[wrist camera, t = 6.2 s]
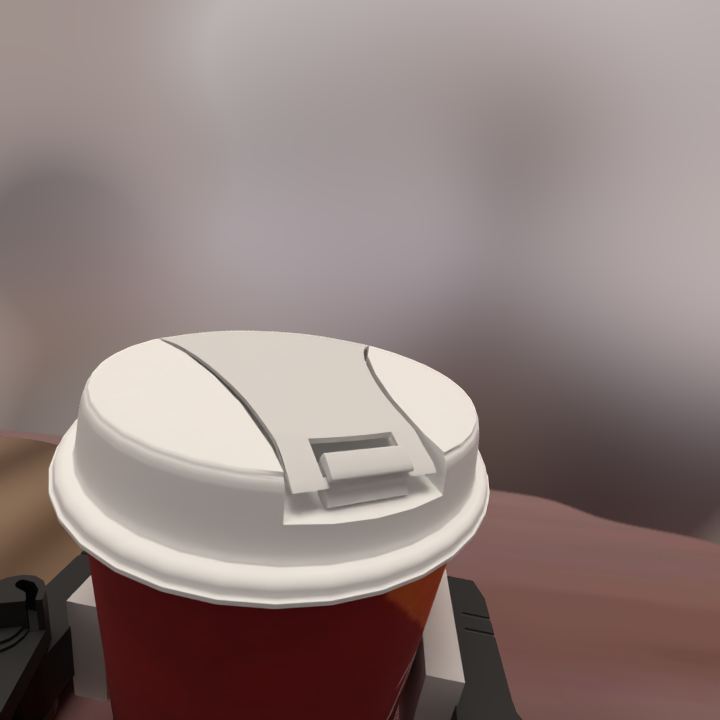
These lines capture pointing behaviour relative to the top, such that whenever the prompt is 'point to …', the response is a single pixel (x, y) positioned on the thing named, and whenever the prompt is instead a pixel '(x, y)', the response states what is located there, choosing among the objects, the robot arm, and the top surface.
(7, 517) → the disc
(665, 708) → the top surface
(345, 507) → the paper cup
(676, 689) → the top surface
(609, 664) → the top surface
